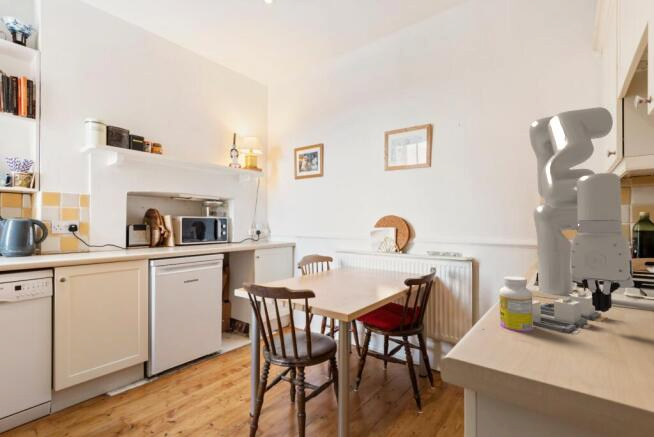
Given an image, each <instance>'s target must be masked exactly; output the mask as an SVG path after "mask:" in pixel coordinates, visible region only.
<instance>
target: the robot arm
mask: <svg viewBox="0 0 654 437" xmlns="http://www.w3.org/2000/svg"><path fill="white" fill-rule="evenodd" d="M613 119H614V118H613V116H612V113H611V112H610V111H609V109H607V108H604V107H590V108H589V107H588V108H584V109H583V108H581V109H574V110H568V111H563V112H560V113H557V114H556V115H553V116H552V115H551V116H547V117H543V118H539V119H536V120H535V121H533V122H532V123H531V125H530V127H529V141H530V145H531V148H532V150H533V152H534V155H535V158H536V162H537V163H536V164H537V165H536V166H537V167H536V168H537V189H538V194H539V196H540V198H541V197H542V198H544V201H545V202H544V203H541V204H539V205H537V206H536V207H535V209H534V211H533V221H534V224H535V231H536V241H537V278H538V279H537V280H538V281H537V282H538V288H539V291H538V292H540V293H543V294H548V295H549V294H550V295H554V296H555V295H558V296H562V297H563V296H564V297H568V298H570V295H569V294H572V293H573V291H574V290H573V289H574V286H575V283H574V282H576V283H578V284H583V285H584V286H585V287H586V288H587V289H588V290H589V292H591V296H592V305H593V306H595V311H596V312H600V313H606V312H609V311H610V309H612V303H613V302H612V293H614V292H616V291H617V290H619V289H622V288H632V287H634V286H635V282H634V280H633V276H634V268H633V266H634V265H633V259H632V253H631V248H630V244H629V241H628V236H627V235H626V234H623V222H622V195H621V194H622V193H621V190H622V188H621V177H620V176H619V175H618V174H616V173H613V172H600V173H595V172H594V171H593V169H592V170H591V169H588V168H577V169H576V168H575V169H574V167H576V166H578V165H581V164H583V163H584V162H586V161H587V160H589V159H590V158H591V156H593V153H594V151H595V147H594V144H593V142H592V140H593V139H602V138H605V137H606V136H608V135H609V133H611V130H612V129H613V124H614V122H613V121H614V120H613ZM571 168H573V169H571ZM563 231H564V232H565V231H576V233H577V234H573V236H572V242H571V241H570V239H569V238H568V237H567V236H566V235H565V234H564V233H563ZM600 281H603V286H602V289H601V287H600ZM533 290H534V289H533ZM533 292H536V291H535V290H534V291H533Z"/></svg>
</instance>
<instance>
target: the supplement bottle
mask: <svg viewBox="0 0 654 437" xmlns="http://www.w3.org/2000/svg"><path fill="white" fill-rule="evenodd" d="M503 283H504V287H501V288H500V289H499V319H500V320H499V324H500V327H501V328H503V329H506V330H509V331H513V332H520V333H526V332H527V333H529V332H532V331H534V326H533V310H532V300H533V293H532V291H531V290H530V289H528V288H527V284H528V279H527V277H523V276H516V275H515V276H512V275H507V276H504V277H503Z"/></svg>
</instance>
